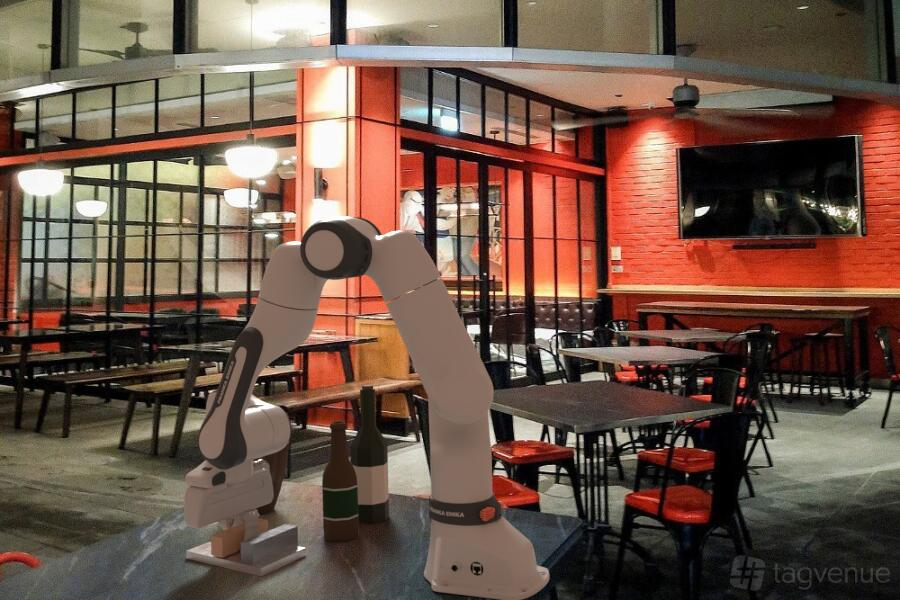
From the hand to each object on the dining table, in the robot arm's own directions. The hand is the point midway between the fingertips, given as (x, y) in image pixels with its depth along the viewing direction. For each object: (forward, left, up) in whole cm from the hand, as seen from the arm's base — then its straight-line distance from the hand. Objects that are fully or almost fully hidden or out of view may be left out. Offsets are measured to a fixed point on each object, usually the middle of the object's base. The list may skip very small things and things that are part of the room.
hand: (232, 537), depth 148 cm
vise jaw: (-2, 0, -1) cm, 3 cm away
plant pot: (+17, -24, -3) cm, 29 cm away
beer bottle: (-13, -18, -3) cm, 22 cm away
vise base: (-4, 0, -3) cm, 5 cm away
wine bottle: (-11, -31, -3) cm, 33 cm away
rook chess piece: (-6, +1, -2) cm, 6 cm away
